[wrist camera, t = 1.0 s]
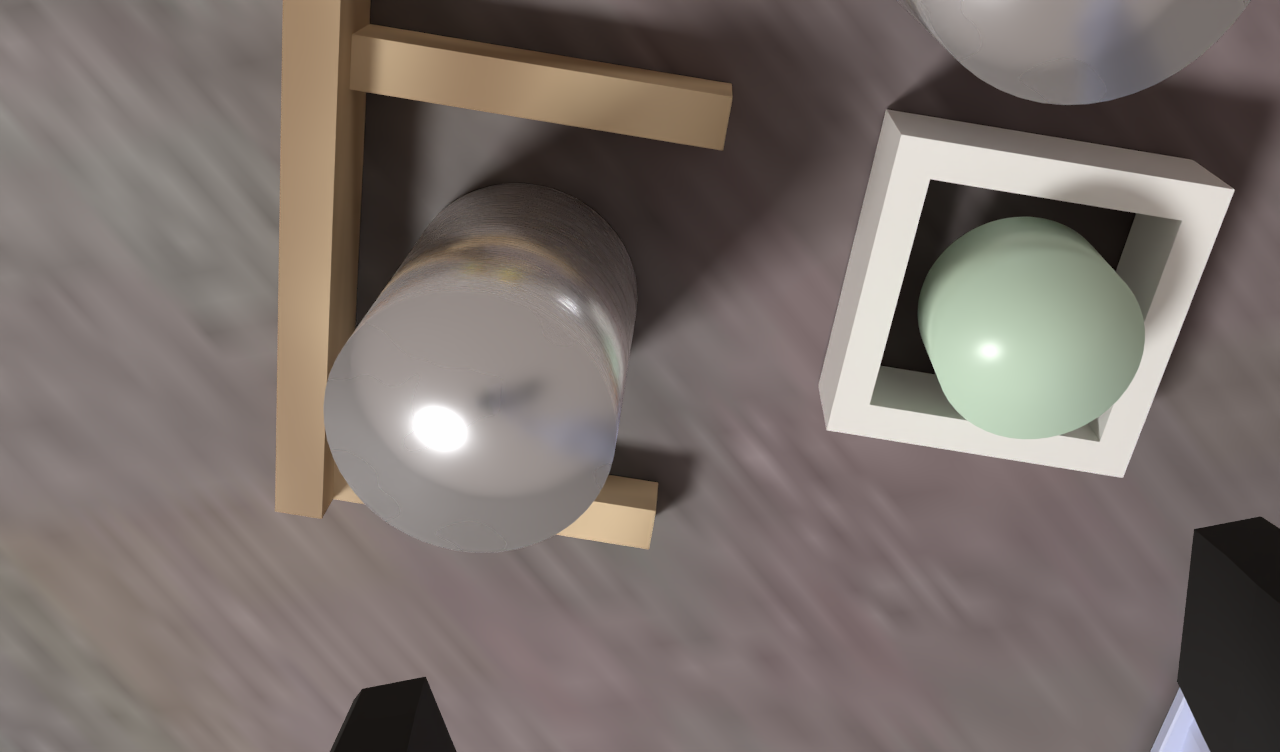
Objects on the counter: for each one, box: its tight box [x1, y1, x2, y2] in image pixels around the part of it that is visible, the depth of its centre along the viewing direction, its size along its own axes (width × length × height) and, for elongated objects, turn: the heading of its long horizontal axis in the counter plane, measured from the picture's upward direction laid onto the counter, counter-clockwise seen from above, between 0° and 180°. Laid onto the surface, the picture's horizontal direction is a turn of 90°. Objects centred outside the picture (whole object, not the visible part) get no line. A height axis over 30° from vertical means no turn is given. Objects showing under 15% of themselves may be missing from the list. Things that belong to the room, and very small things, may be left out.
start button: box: [917, 217, 1145, 439], centre depth 21 cm, size 4×4×2 cm
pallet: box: [275, 0, 733, 549], centre depth 21 cm, size 8×19×2 cm, turn 171°
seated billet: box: [323, 183, 638, 553], centre depth 22 cm, size 5×5×6 cm
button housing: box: [818, 109, 1235, 478], centre depth 23 cm, size 6×6×2 cm
